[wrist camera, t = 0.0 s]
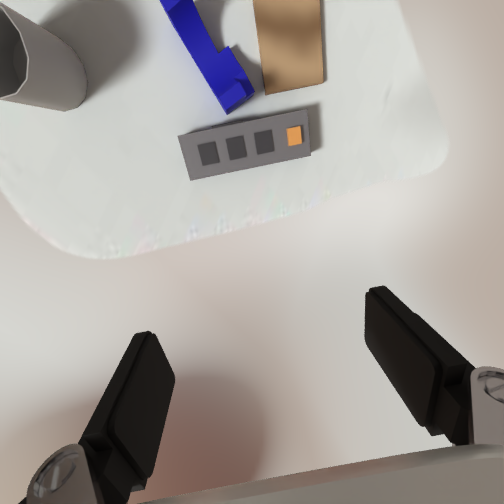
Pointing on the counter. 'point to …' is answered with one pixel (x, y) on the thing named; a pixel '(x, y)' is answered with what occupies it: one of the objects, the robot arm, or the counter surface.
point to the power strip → (246, 144)
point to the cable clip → (209, 56)
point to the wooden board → (289, 43)
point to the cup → (38, 65)
